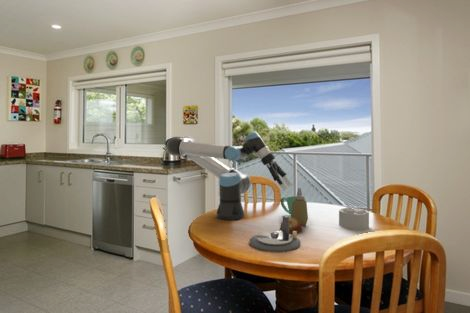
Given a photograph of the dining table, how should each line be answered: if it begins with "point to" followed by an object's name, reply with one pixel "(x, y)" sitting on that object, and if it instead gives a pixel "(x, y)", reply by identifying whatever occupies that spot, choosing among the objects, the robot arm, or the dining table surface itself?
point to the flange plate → (272, 240)
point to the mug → (288, 203)
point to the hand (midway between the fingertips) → (288, 187)
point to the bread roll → (293, 226)
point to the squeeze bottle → (299, 208)
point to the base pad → (271, 248)
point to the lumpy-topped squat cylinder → (354, 218)
